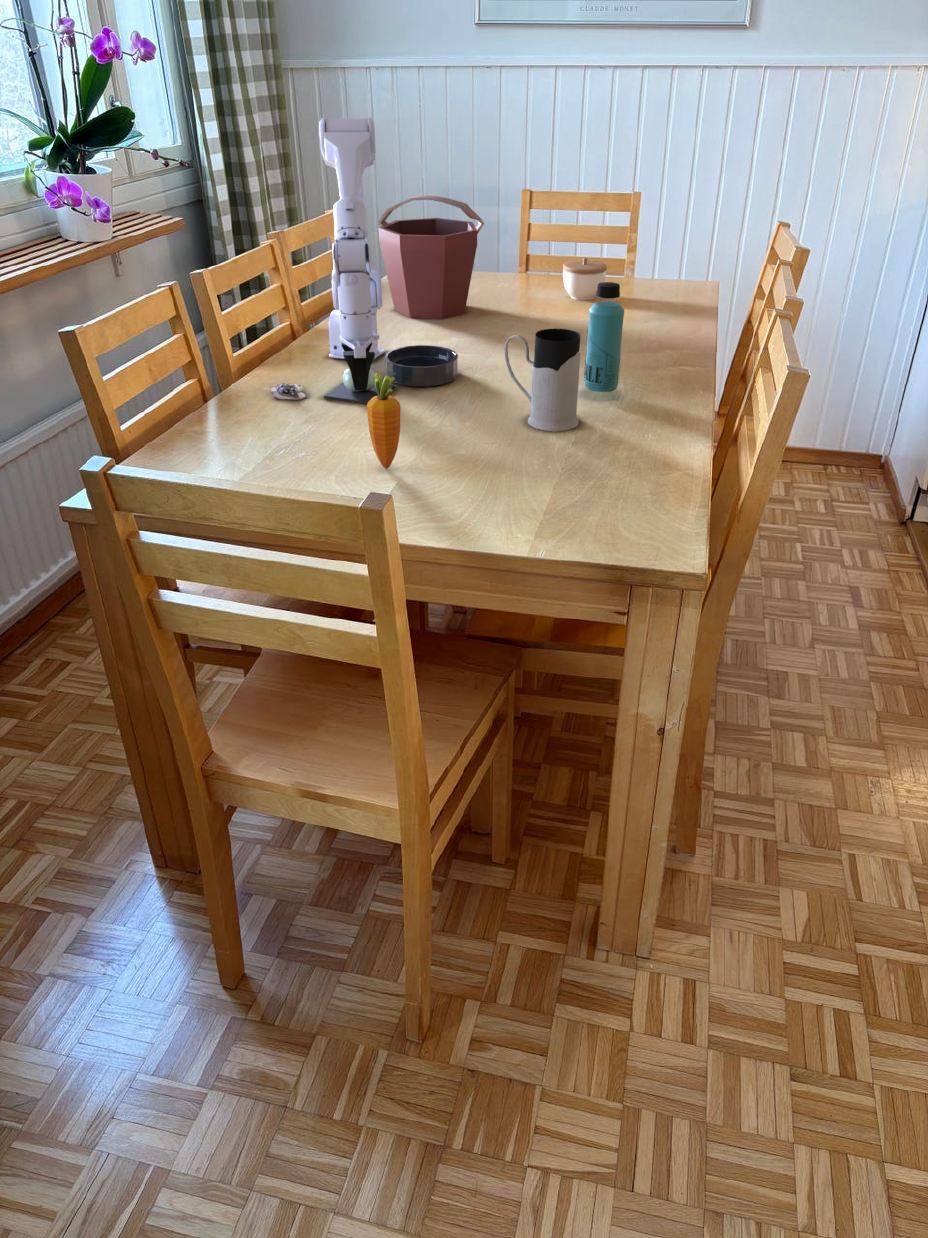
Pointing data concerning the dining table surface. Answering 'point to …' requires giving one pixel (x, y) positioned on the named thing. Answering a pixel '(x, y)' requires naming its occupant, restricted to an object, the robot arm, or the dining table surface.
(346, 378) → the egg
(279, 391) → the blueberries
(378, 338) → the robot arm
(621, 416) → the dining table surface
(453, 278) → the bucket
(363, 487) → the dining table surface
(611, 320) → the beverage bottle
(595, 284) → the trinket box
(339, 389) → the mat
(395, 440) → the carrot
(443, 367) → the basin
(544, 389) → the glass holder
